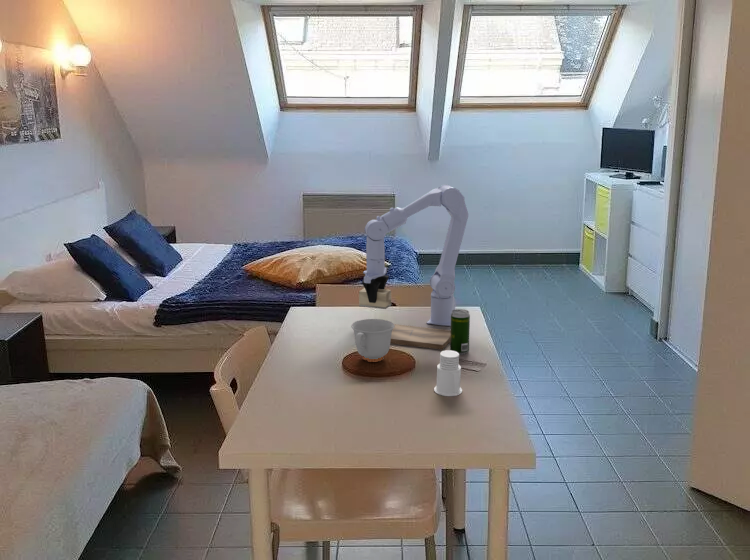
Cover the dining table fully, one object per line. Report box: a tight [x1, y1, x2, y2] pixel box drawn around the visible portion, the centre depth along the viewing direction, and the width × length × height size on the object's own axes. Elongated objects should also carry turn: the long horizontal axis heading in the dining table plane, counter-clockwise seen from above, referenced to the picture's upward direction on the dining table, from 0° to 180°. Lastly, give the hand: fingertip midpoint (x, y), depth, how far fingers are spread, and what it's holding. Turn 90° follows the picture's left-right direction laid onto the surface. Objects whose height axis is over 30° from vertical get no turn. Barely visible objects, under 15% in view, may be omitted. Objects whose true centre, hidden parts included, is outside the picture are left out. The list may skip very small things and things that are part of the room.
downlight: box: [433, 349, 463, 397], centre depth 179 cm, size 8×7×10 cm
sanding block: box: [358, 287, 392, 310], centre depth 231 cm, size 5×9×5 cm, turn 68°
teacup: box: [350, 318, 395, 359], centre depth 200 cm, size 12×15×10 cm
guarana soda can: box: [449, 308, 471, 356], centre depth 207 cm, size 5×5×12 cm
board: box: [390, 323, 451, 351], centre depth 220 cm, size 14×20×2 cm
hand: (375, 300), depth 231 cm, fingers closed on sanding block, 5 cm apart
